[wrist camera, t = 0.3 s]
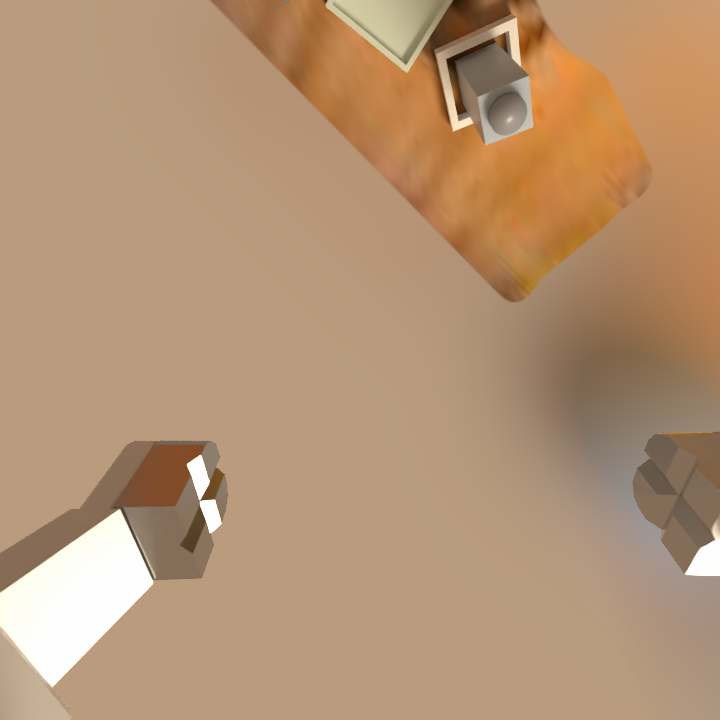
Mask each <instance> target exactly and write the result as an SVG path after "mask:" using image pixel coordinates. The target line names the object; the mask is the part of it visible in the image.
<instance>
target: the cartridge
mask: <svg viewBox="0 0 720 720" xmlns="http://www.w3.org/2000/svg"><path fill="white" fill-rule="evenodd" d="M455 66H456V71H457V77H458V82H459V87H460V92H461V98H462V103H463V105H464V107H465V109H466V111H467V112H468V114H469V116H470V118H471V120H472V122H473V123H474V125H475V127H476V129H477V131H478V133H479V134H480V136H481V138H482V140H483V142H484V144H485V145H488V144H491V143H493V142H496V141H498V140H501V139H504V138H506V137H509V136H511V135H514V134H516V133H519V132H522V131H524V130H527V129H529V128H532V127H533V118H532V106H531V94H530V82H529V75H528V74H527V73H526V72H525V71H524V70H523V69H522V68H521V67H520V66H519V65H518V64H517V63H516V62H515V61H514V60H513V59H512V58H511V57H510V56H509V55H508V54H507V53H506V52H505V51H504V50H503V49H502V48H501V47H500V46H499V45H498V44H497V43H493V44H491V45H489V46H487V47H484V48H482V49H480V50H478V51H476V52H473V53H471V54H469V55H467V56H464V57H462V58H460V59H458V60H455Z"/></svg>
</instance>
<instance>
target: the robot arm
mask: <svg viewBox="0 0 720 720" xmlns="http://www.w3.org/2000/svg"><path fill="white" fill-rule="evenodd" d="M644 451H645V452H646V454H647V456H648V458H649V460H647V461H646V462H645V463H643V464H642V465H641V466H639V467H638V468H637V470H636V473H635V476H634V479H633V491H634V497H635V500H636V502H637V505H638V507H639V509H640V510H641V512H642V513H643V515H644V516H645V518H646V519H647V520H648V521H650V522H652V523H653V524H655V525H656V526H658V527H659V528H661V529H662V536H661V541H662V543H663V544H664V545H665V547H666V548H667V549H668V551H669V552H670V554H671V555H672V557H673V558H674V560H675V561H676V562H677V564H678V565H679V567H680V568H681V570H682V571H683V572H684V574H685V575H720V432H712V433H709V432H705V433H666V434H664V433H663V434H655V435H654V436H653V437H651V438H650V439H649V441H648V443H647V445H646V448H645V450H644ZM219 458H220V456H219V453H218V449H217V446H216V444H215V443H213V442H212V441H134V442H132V443H130V444H128V445H127V446H126V447H125V448H124V449H123V451H122V452H121V454H120V455H119V456H118V457H117V459H116V460H115V462H114V463H113V464H112V466H111V467H110V468H109V470H108V471H107V472H106V474H105V475H104V476H103V478H102V479H101V481H100V482H99V483H98V485H97V486H96V487H95V489H94V490H93V491H92V493H91V494H90V496H89V497H88V498H87V500H86V501H85V502H84V504H83V505H82V506H81V508H80V509H70V510H69V511H67V512H66V513H64V514H62V515H61V516H59V517H58V518H56V519H54V520H53V521H51V522H49V523H48V524H46V525H45V526H43V527H41V528H40V529H38V530H37V531H35V532H34V533H32V534H30V535H29V536H27V537H25V538H24V539H22V540H21V541H19V542H17V543H16V544H14V545H13V546H11V547H9V548H8V549H6V550H5V551H3V552H1V553H0V720H71V718H72V717H71V713H70V709H69V707H68V706H67V704H66V703H65V702H64V701H63V700H62V699H61V697H60V696H59V695H58V694H57V693H56V691H55V690H54V689H53V688H52V687H53V686H54V685H55V683H57V682H58V680H60V679H61V677H63V675H64V674H65V673H66V672H67V671H68V670H69V669H70V668H71V667H72V666H73V665H74V664H75V663H76V662H77V661H78V660H79V659H80V658H81V657H82V656H83V655H84V654H85V653H86V652H87V651H88V650H89V649H90V648H91V647H92V646H93V645H94V644H95V643H96V642H97V641H98V639H100V638H101V636H102V635H103V634H104V633H105V632H106V631H107V630H108V629H109V628H110V627H111V626H112V625H113V624H114V623H115V622H116V621H117V620H118V619H119V618H120V617H121V616H122V615H123V614H124V613H125V612H126V611H127V610H128V609H129V608H130V607H131V606H132V605H133V604H134V602H136V601H137V600H138V598H140V597H141V595H142V594H143V593H144V592H145V591H146V590H147V589H148V588H149V587H150V586H151V585H152V584H153V583H154V582H153V580H167V579H195V578H202V576H203V573H204V570H205V567H206V565H207V562H208V559H209V556H210V554H211V551H212V548H213V545H214V544H213V541H212V537H211V534H210V533H211V532H212V531H214V530H215V529H216V528H217V527H218V526H219V525H220V524H221V523H222V520H223V517H224V514H225V511H226V504H227V496H228V493H227V482H226V478H225V474H224V473H222V472H221V471H220V470H219V469H218V468H216V465H217V463H218V460H219Z"/></svg>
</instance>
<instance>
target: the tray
mask: <svg viewBox="0 0 720 720" xmlns="http://www.w3.org/2000/svg"><path fill="white" fill-rule="evenodd" d="M452 1H453V0H327V2H326V5H325V6H326V7H327V8H328V9H329V10H331V11H332V12H333V13H334V14H335V15H337V16H338V17H339V18H340V19H342V20H343V21H344V22H345V23H346V24H348V25H349V26H350V27H351V28H353V29H354V30H355V31H356V32H357V33H359V34H360V35H361V36H362V37H364V38H365V39H366V40H367V41H368V42H370V43H371V44H372V45H373V46H375V47H376V48H377V49H378V50H379V51H381V52H382V53H383V54H384V55H386V56H387V57H388V58H389V59H390V60H392V61H393V62H394V63H395V64H397V65H398V66H399V67H400V68H401V69H403V70H404V71H405V72H406V73H407V72H408V71H409V69H410V68H411V66H412V64H413V63H414V61H415V60H416V58H417V57H418V55H419V53H420V52H421V50H422V49H423V47H424V45H425V44H426V42H427V41H428V39H429V37H430V36H431V34H432V33H433V31H434V30H435V28H436V26H437V25H438V23H439V22H440V20H441V18H442V17H443V15H444V14H445V12H446V11H447V9H448V7H449V6H450V4H451V3H452Z"/></svg>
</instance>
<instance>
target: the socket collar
mask: <svg viewBox="0 0 720 720" xmlns="http://www.w3.org/2000/svg"><path fill="white" fill-rule="evenodd" d="M503 33H505V35H506V44H507V53H508V55H509V56H510V57H511V58H512V59H513V60H514V61H515V62H516V63H517V64H518V65H519V66H520V67H521V61H520V50H519V39H518V29H517V18H516V17H515V16H514V15H513V14H510V15H508V16H506V17H504V18H502V19H499V20H497V21H495V22H493V23H491V24H489V25H486V26H484V27H482V28H480V29H478V30H476V31H473V32H471V33H469V34H467V35H465V36H463V37H460V38H458V39H456V40H454V41H452V42H450V43H447V44H445V45H443V46H441V47H439V48H437V49H434V51H435V56H436V61H437V65H438V70H439V74H440V79H441V84H442V88H443V93H444V97H445V102H446V107H447V111H448V116H449V121H450V125H451V128H452V130H453V131H455V130H458V129H460V128H463V127H465V126H468V125H470V124H473V122H472V120H471V118H470V116H469V114H468V112H465V113H462V114H460V115H457V111H456V106H455V102H454V97H453V92H452V87H451V82H450V77H449V72H448V67H447V62H446V59H447V58H450V57H452V56H454V55H456V54H458V53H461V52H463V51H465V50H467V49H470V48H472V47H474V46H476V45H478V44H481V43H483V42H485V41H487V40H489V39H492V38H494V37H496V36H498V35H501V34H503Z"/></svg>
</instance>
